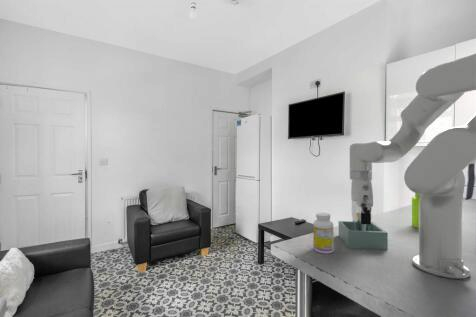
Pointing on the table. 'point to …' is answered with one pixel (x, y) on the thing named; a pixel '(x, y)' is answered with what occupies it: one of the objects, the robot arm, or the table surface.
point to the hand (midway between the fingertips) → (360, 220)
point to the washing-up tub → (363, 236)
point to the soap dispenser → (415, 210)
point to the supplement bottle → (323, 234)
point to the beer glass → (358, 217)
